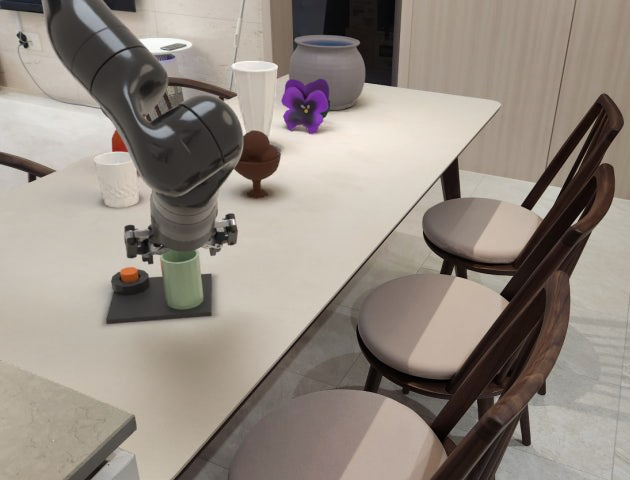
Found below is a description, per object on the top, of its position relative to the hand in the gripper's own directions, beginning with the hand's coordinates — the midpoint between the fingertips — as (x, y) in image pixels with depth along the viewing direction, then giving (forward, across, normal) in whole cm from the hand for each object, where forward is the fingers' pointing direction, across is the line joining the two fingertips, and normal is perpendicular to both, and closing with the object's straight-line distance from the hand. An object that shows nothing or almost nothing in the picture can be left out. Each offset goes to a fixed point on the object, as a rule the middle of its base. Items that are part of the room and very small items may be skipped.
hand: (181, 253), depth 90 cm
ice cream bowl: (+41, -21, -24) cm, 52 cm away
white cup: (+44, +7, -26) cm, 51 cm away
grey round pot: (+92, -61, -75) cm, 133 cm away
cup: (+62, -28, -45) cm, 82 cm away
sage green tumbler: (+10, 0, +4) cm, 11 cm away
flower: (+75, -48, -58) cm, 106 cm away
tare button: (+15, +7, -2) cm, 16 cm away
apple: (+58, +2, -41) cm, 71 cm away
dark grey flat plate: (+13, +3, +3) cm, 14 cm away
